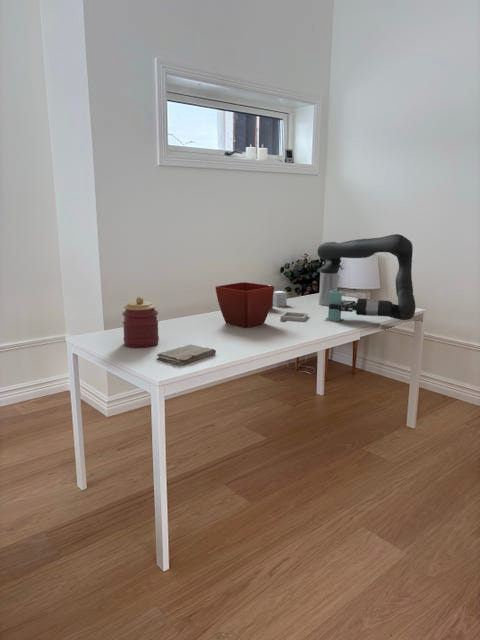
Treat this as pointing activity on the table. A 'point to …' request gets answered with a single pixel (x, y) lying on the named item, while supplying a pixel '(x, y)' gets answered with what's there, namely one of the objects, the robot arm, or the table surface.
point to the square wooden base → (334, 321)
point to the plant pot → (244, 303)
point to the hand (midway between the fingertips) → (330, 304)
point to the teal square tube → (334, 298)
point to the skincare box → (279, 298)
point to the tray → (293, 316)
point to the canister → (140, 324)
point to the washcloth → (185, 355)
